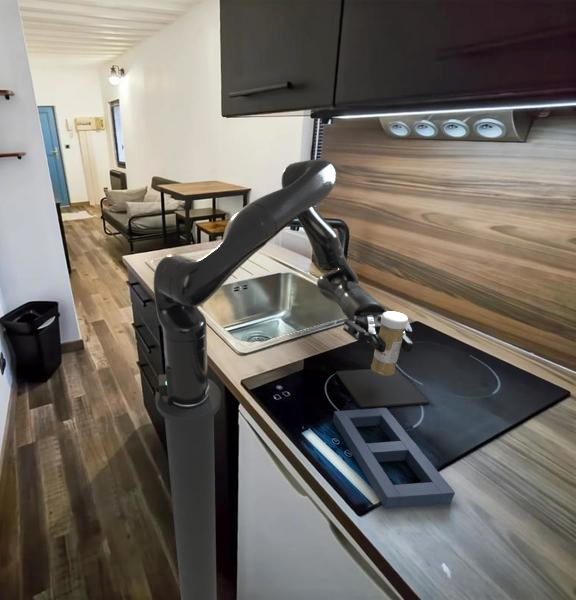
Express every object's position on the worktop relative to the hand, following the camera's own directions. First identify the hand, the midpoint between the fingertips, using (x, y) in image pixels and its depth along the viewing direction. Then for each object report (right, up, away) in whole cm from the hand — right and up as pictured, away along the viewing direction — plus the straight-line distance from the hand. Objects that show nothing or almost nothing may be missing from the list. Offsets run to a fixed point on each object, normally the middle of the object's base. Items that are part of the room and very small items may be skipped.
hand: (396, 348), depth 72 cm
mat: (+1, -10, +7) cm, 12 cm away
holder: (-8, -18, -9) cm, 21 cm away
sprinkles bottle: (+1, -6, +6) cm, 8 cm away
